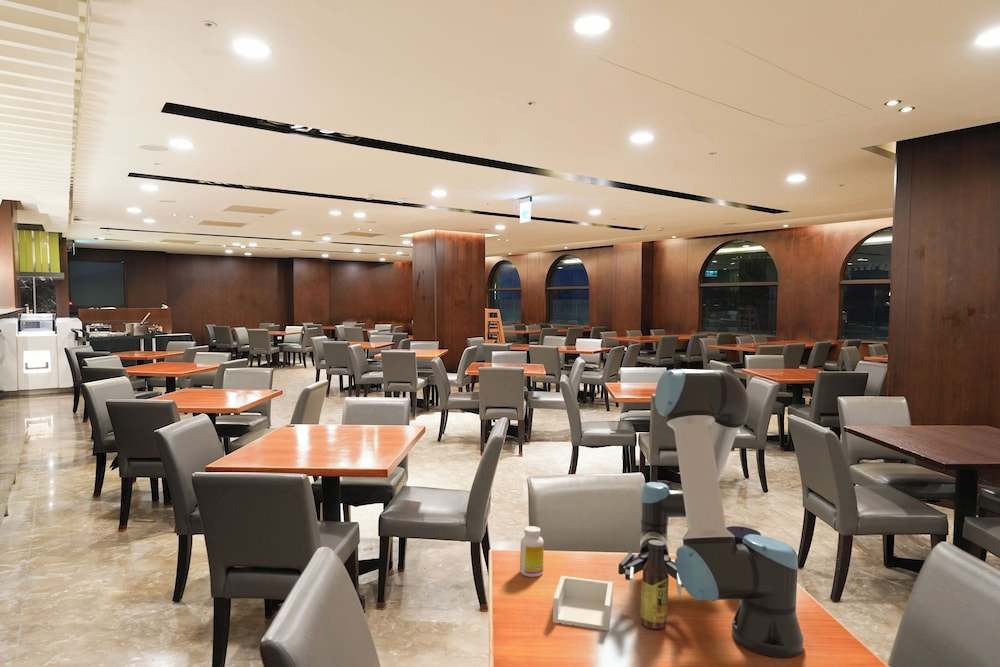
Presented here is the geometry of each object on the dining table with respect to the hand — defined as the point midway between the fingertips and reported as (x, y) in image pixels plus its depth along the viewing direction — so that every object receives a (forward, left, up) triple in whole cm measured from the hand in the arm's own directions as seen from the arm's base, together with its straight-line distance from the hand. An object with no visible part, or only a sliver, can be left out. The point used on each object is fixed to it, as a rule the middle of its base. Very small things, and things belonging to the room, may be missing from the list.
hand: (655, 586), depth 141 cm
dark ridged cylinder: (+7, -41, -11) cm, 43 cm away
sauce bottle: (+3, -3, -11) cm, 12 cm away
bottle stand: (+15, +9, -11) cm, 20 cm away
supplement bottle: (+41, +7, -11) cm, 43 cm away
